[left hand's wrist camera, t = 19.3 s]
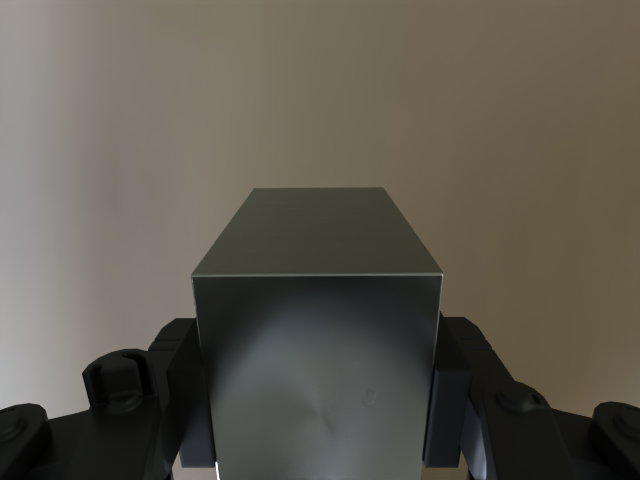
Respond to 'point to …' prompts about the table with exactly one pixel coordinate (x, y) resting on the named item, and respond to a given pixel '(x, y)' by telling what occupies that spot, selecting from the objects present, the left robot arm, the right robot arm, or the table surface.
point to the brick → (318, 337)
